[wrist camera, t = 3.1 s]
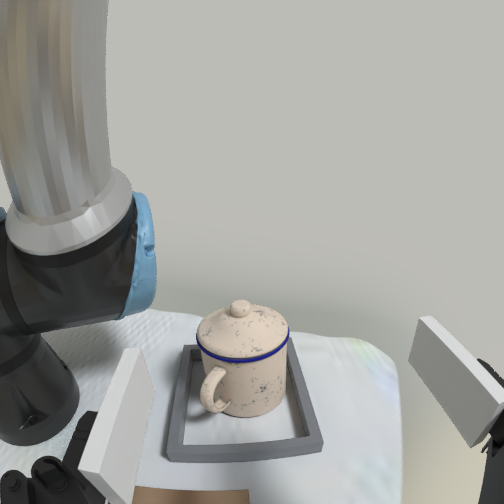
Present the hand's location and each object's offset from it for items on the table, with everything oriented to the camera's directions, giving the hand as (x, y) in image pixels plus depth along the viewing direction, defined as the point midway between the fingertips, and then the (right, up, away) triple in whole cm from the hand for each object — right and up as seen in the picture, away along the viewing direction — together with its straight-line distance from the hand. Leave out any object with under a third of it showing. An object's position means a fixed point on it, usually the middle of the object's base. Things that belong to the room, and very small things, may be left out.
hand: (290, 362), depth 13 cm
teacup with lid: (-3, -11, +18) cm, 21 cm away
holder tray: (-3, -11, +18) cm, 21 cm away
